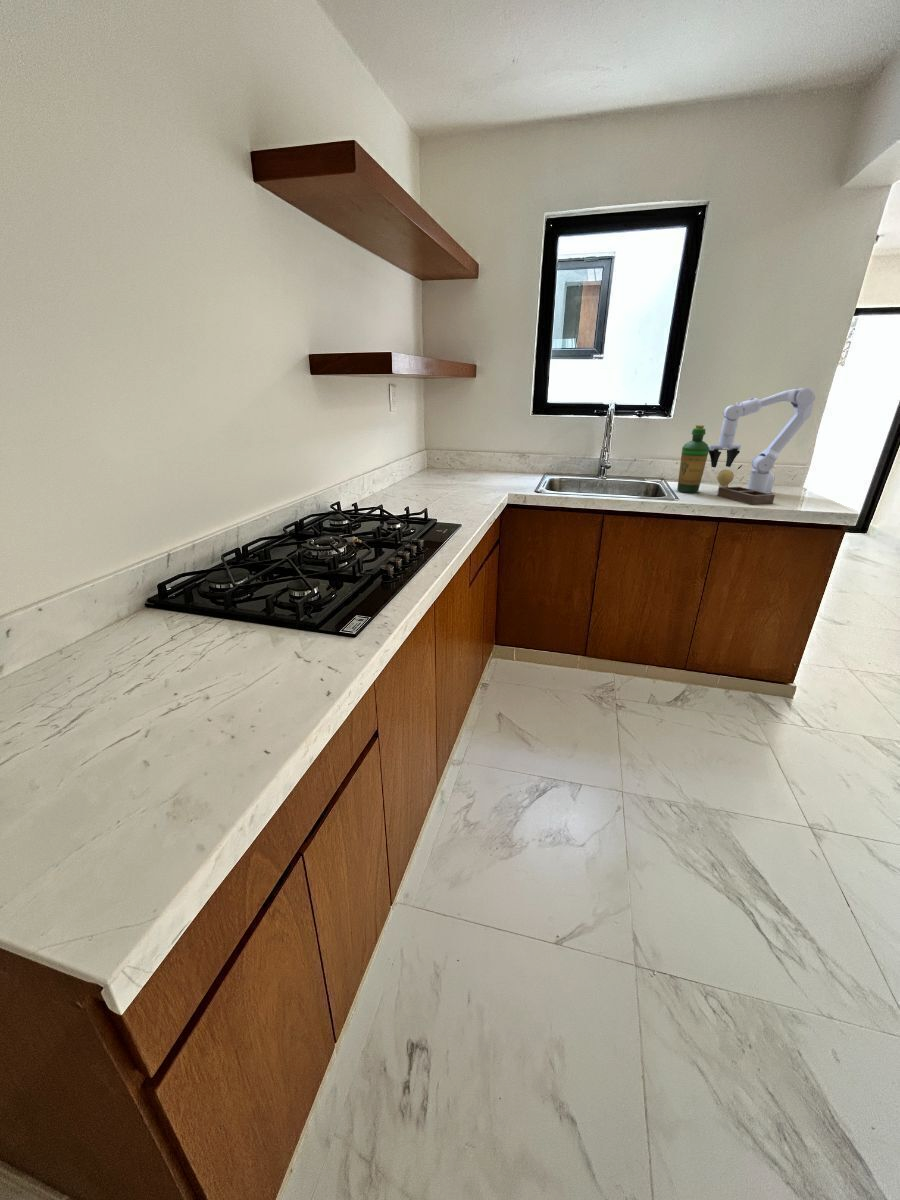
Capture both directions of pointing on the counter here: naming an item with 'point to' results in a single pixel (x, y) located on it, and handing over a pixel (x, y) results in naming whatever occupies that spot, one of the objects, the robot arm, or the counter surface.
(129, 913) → the counter surface
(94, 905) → the counter surface
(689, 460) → the bottle
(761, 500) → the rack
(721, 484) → the light bulb
